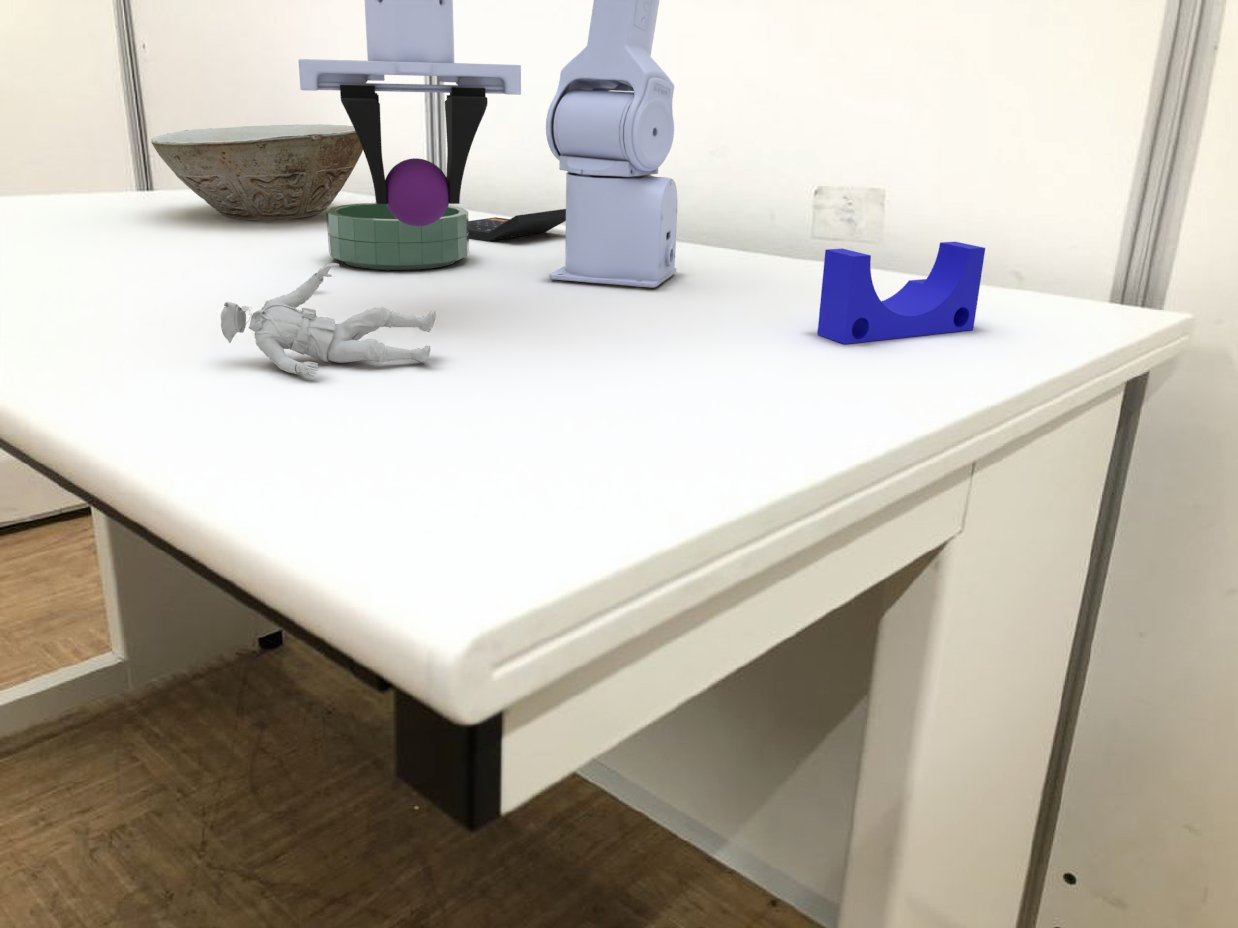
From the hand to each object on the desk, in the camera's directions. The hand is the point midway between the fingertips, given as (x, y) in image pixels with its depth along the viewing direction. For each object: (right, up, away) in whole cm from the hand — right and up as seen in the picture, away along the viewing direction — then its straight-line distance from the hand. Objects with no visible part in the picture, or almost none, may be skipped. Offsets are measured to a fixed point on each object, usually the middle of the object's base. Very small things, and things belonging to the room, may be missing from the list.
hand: (416, 202), depth 75 cm
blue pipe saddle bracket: (+34, -9, +3) cm, 35 cm away
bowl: (-27, +10, +49) cm, 57 cm away
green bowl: (-6, +1, +24) cm, 25 cm away
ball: (0, +1, 0) cm, 1 cm away
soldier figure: (-3, -12, -9) cm, 16 cm away
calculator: (+2, +6, +41) cm, 41 cm away
